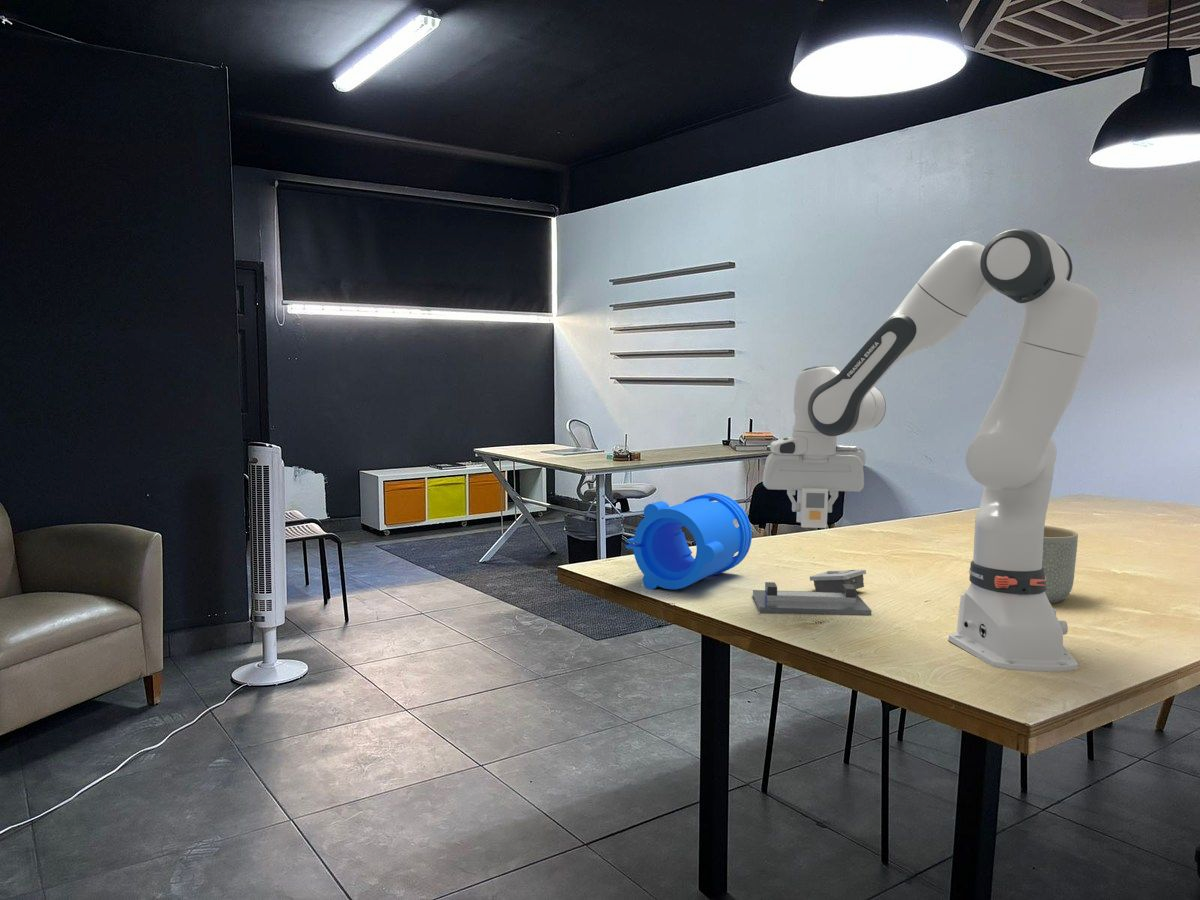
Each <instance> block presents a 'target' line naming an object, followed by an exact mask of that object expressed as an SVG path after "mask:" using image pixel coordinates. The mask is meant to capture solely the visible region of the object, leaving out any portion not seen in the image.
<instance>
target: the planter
mask: <svg viewBox="0 0 1200 900" xmlns="http://www.w3.org/2000/svg"><path fill="white" fill-rule="evenodd" d="M1078 536H1079V534H1078V532H1076V531H1074V530H1072V529H1068V528H1064V527H1063V528H1062V527H1057V526H1051V525H1045V526H1044V540H1043V557H1042V567H1043V568H1044V572H1045V576H1046V588H1047V590H1046V591H1045V593H1046V596H1047V598H1048V600H1049V602H1050V604H1051V603H1053V604H1057V603H1060V602H1061V601H1063V600H1065V599H1066V598H1067V597H1068V596H1069V595H1070V593H1071V592H1072V590H1073V586H1074V580H1075V573H1076V571H1075V569H1076V561H1077V552H1078V542H1079V537H1078ZM1051 605H1052V604H1051Z"/></svg>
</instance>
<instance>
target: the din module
mask: <svg viewBox="0 0 1200 900" xmlns="http://www.w3.org/2000/svg"><path fill="white" fill-rule="evenodd" d="M796 494H797V496H796V497H797V499H796V502H799V503H800V504H801V505H800V512H796V523H800V527H801V528H806V529H807V528H809V529H814V528H815V529H818V528H819V529H827V527H828V513H827V509H828V501H829V491H828V488H811V487H802V490H797V493H796Z"/></svg>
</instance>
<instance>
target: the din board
mask: <svg viewBox="0 0 1200 900" xmlns="http://www.w3.org/2000/svg"><path fill="white" fill-rule="evenodd" d="M764 584H765V585H764V587H765V588H764V590H763V589H752V597H753V600H754V602H755V605H756V607H757V609H758V611H759V612H760V613H759V612H758V613H759V614H780V615H781V614H786V615H787V614H791V615H835V616H836V615H838V616H839V615H841V616H842V615H843V616H872V610H871V608H870V607H869V606H868V605H867V603H865V601H864V600H863V599H862V598H861V597H860V596H859V594H857V589H856V588H855V587H854V586H853V585H852V584H842V592H816V591H810V590H809V591H801V590H778V586H777V584H776V582H773V581H772V582H771V581H769V582H768V581H767V582H766V581H765V582H764Z"/></svg>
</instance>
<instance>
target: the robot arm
mask: <svg viewBox="0 0 1200 900" xmlns="http://www.w3.org/2000/svg"><path fill="white" fill-rule="evenodd" d="M1072 275H1073V262H1072V258H1071V256H1070V254H1069V252H1068V251H1067V250H1066V248H1064V247H1063V246H1062V245H1060V243H1057V242H1056V241H1055V240H1054V239H1053V238H1051V237H1049V236H1048V235H1046V234H1042V233H1040V232H1037V231H1034V230H1031V229H1028V228H1013V229H1008V230H1005V231H1003V232H1001V233H998V234H997V235H996V236H994V237H992V238H991V239H990V240H989V241H988V242H987V243H986V245H985V246H984V245H983V244H981V243H979V242H976V241H971V240H961V241H958V242H955V243H954V244H952V245H951V246H950V247H949V248H948V249H947V250H946V251H945V252H943V253H942V254H941V255H940V256H938V258H937V259H935V261H934V262H933V263H932V264H931V265H930V266H929V268H928V269H927V270H925V272H924V273H923V274H922V275H921V277H920V278H919V279H918V281H916V283H915V284H914V286H913V287H912V288H911V290H910V291H909V292H908V294H907V295H906V296H905V297H904V299H903V300H902V301H901V302H900V304H899V305H898V306H897V308H896V309H895V310H894V311H893V313H892V314H891V315H890V316H889V317H888V318H887V319H886V321H885V322H884V323H883V324H882V325H881V326H880V327H879V328H878V329H877V330H876V331H875V332H874V333H873V335H871V337H869V339H868V340H867V341H866V342H865V344H864V345H863V346H861V348H860V349H859V350H858V352H857V353H856V354H855V355H854V356H853V357H852V358H851V359H850V360H849V362H848V363H847V364H846V365H845V366H844V367H843V368H842V370H841V371H840V370H839V369H838V368H837V367H835V366H833V365H819V366H818V365H817V366H810V367H807V368H805V369H802V370H801V371H800V372H799V373H798V375H797V377H796V381H795V386H794V387H795V388H794V393H793V394H794V395H793V396H794V397H793V412H794V424H793V425H792V426H793V427H792V435H791V436H788V437H784V438H781V439H777V440H774V441H772V442H771V443H770V445H769V449H770V451H771V453H769V455H767V457H766V459H765V462H764V463H765V464H764V468H763V474H762V485H763V486H764V487H765V489H767V490H778V491H781V490H783V491H786V495H787V496H788V498H789V500H790V502H791V511H792V512H794V513H795V512H796V513H797V512H800V505H801V504H800V503H799V502H797V500H795V497H794V496H796V491H798V490H802V487H811V488H828V492H829V495H830V498H829V499H828V509H827V514H828V513H830V514H831V513H833V505H834V503H835V502H836V500H837V499H838V498H839V492H861V491H862V490H863V489H864V488H865V487H864V486H865V475H864V466H865V464H866V452H865V451H864V450H863V449H862V448H859V446H856V445H852V446H850V445H849V446H848V445H837V441H838V437H837V436H842V435H844V434H847V433H848V434H850V433H857V432H865V431H868V430H871V429H873V428H876V427H877V426H878V425H879V424H881V422H883V419H884V417H885V414H886V412H887V411H886V410H887V409H886V408H887V405H886V399H885V397H884V394H883V393H882V392H881V390H880V389H878V388H877V387H876V385H877V383H878V382H879V381H881V380H882V378H883V377H884V376H885V375H886V374H887V372H889V370H890V369H891V368H892V367H893V366H895V365H896V364H897V362H899V361H901V360H903V358H905V357H907V356H910V355H911V354H913V353H916V352H918V351H922V350H924V349H928V348H930V347H934V346H938V345H939V344H942V343H943V342H944V341H945V340H947V339H948V338H949V337H950V336H952V334H954V333H955V332H956V331H957V330H958V329H959V328H960V327H961V326H962V325H963V324H964V322H965V321H966V320H967V319H968V318H969V316H970V315H971V314H972V313H973V311H974V310H975V309H976V307H977V306H978V305H979V304H980V303H981V302H982V301H983V300H984V299H985V298H986V297H987V296H989V295H991V294H994V293H998V292H999V293H1000V294H1002V295H1004V296H1005V297H1008V298H1009V299H1010V300H1013V301H1014V302H1016V303H1017V304H1022V305H1023V307H1024V313H1025V314H1024V319H1023V323H1022V327H1021V330H1020V332H1019V335H1018V338H1017V341H1016V343H1015V346H1014V348H1013V351H1012V354H1011V357H1010V360H1009V363H1008V366H1007V369H1006V371H1005V374H1004V377H1003V379H1002V382H1001V384H1000V387H999V388H998V390H997V393H996V394H995V397H994V398H993V400H992V402H991V404H990V405H989V408H988V410H987V411H986V413H985V416H984V417H983V420H982V421H981V423H980V426H979V428H978V430H977V432H976V435H975V436H974V438H973V440H972V441H971V442H970V444H969V445H968V448H967V450H966V453H965V465H966V468H967V471H968V473H969V475H970V476H971V477H972V478H973V480H974V481H976V482H977V483H979V484H980V485H982V486H983V491H982V495H981V500H980V503H979V506H978V507H979V508H978V510H977V512H976V516H975V519H974V533H973V534H974V538H973V539H974V540H973V556H972V557H973V558H972V559H973V560H971V561H970V566H969V569H968V570H969V571H968V573H969V582H970V585H969V586H968V588H967V589H966V590H965V591H964V592H963V593H962V594H961V596H960V599H959V600H960V601H959V610H958V616H957V625H956V631H955V632H952V633H949V635H948V638H947V639H948V641H949V642H951V643H952V644H954V645H955V646H957V647H958V648H961V649H962V650H964V651H965V652H968V653H969V654H971V655H973V656H974V657H976V658H978V659H979V660H981V661H982V662H984V663H986V664H988V665H990V666H991V667H995V668H1001V669H1008V670H1015V671H1016V670H1018V671H1028V672H1029V671H1030V672H1063V671H1064V672H1065V671H1066V672H1068V671H1074V670H1078V669H1079V663H1078V662H1077V660H1076V659H1075V658H1074V657H1073V655H1072V653H1070V652H1069V651H1068V649H1067V648H1066V646H1064V635H1067V634H1068V629H1069V628H1068V623H1067V621H1066V620H1059V618H1058V616H1057V610H1056V608H1053V606H1052V604H1050V602H1049V600H1048V598H1047V596H1046V593H1045V591H1046V590H1047V588H1046V576H1045V572H1044V568H1043V567H1042V557H1043V540H1044V526H1046V525H1045V523H1046V517H1047V512H1048V508H1049V507H1048V506H1049V501H1050V496H1051V491H1052V484H1053V480H1054V479H1053V478H1054V471H1055V463H1056V460H1057V446H1056V443H1055V442H1054V439H1053V438H1052V436H1053V435H1054V434H1053V433H1054V432H1055V431H1056V430H1055V429H1056V428H1057V426H1058V425H1059V422H1060V420H1061V419H1062V417H1063V415H1064V413H1065V412H1066V409H1067V408H1068V407H1069V405H1070V404H1071V401H1072V399H1073V396H1074V394H1075V390H1076V388H1077V385H1078V383H1079V380H1080V378H1081V375H1082V372H1083V369H1084V368H1085V364H1086V361H1087V359H1088V356H1089V353H1090V351H1091V348H1092V344H1093V340H1094V337H1095V333H1096V329H1097V323H1098V319H1099V312H1100V300H1099V297H1098V295H1097V294H1096V293H1094V291H1093V290H1091V289H1090V288H1088V287H1086V286H1085V285H1082V284H1080V283H1075V282H1072V281H1071V279H1072Z"/></svg>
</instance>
